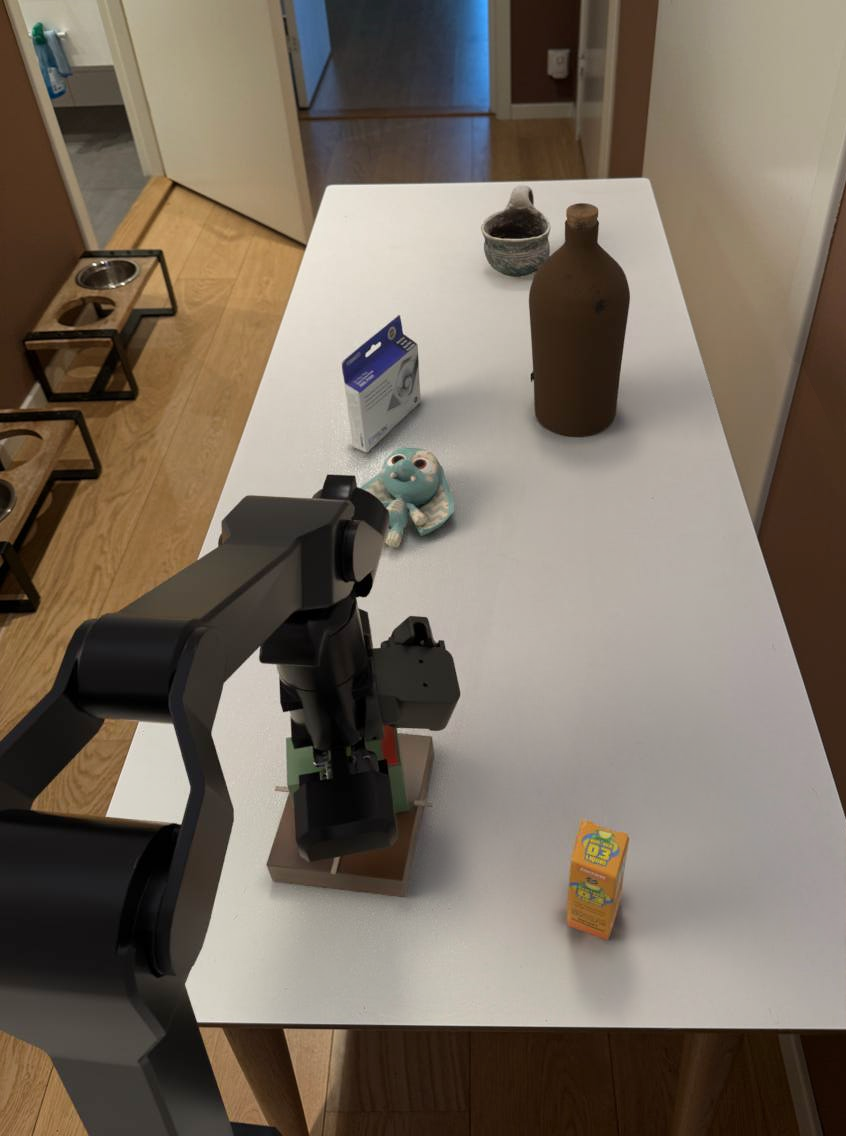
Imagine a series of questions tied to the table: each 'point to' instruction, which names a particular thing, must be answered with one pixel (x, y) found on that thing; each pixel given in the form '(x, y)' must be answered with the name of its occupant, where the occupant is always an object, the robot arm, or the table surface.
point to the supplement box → (596, 878)
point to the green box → (384, 749)
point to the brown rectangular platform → (370, 868)
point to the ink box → (381, 385)
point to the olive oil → (578, 330)
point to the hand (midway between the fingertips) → (352, 787)
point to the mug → (517, 236)
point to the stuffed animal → (412, 492)
